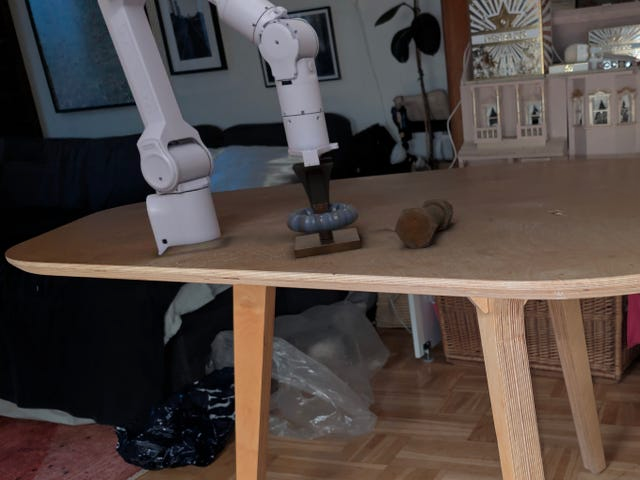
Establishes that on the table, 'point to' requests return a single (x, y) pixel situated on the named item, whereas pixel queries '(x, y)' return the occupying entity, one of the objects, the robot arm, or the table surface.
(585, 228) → the table surface
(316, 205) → the stand
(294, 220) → the ring
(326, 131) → the robot arm
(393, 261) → the table surface
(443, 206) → the bolt
